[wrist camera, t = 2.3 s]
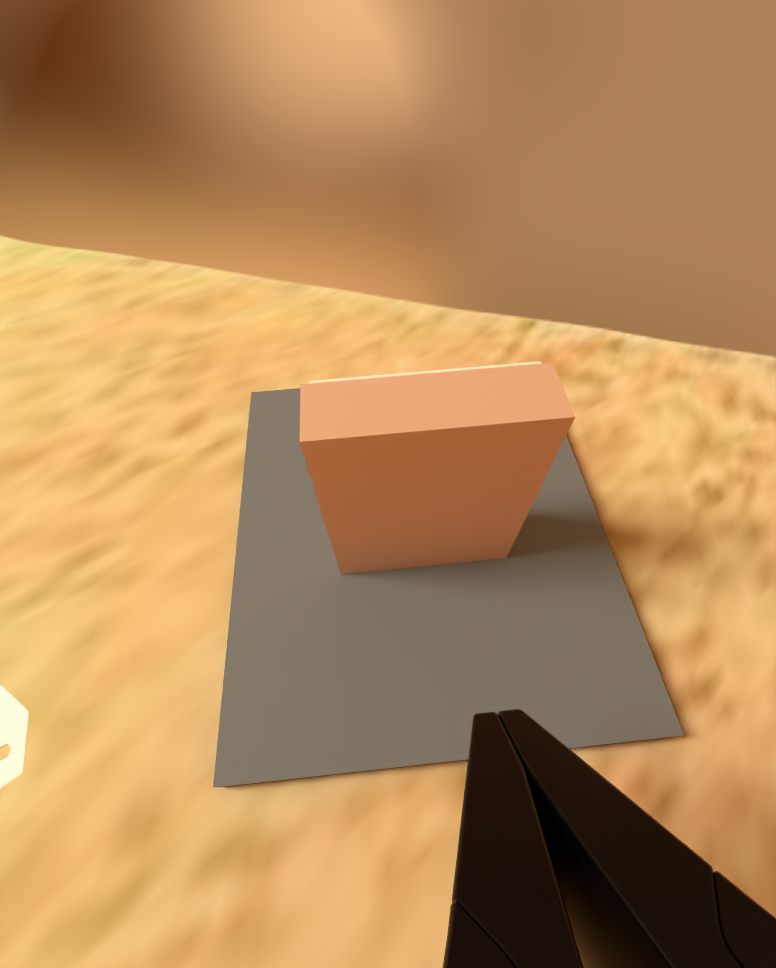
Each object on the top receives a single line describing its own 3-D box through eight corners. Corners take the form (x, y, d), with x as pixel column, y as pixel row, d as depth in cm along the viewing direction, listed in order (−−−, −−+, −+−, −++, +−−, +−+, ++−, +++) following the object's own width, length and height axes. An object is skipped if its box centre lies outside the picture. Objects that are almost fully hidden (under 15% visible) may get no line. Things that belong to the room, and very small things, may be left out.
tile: (506, 558, 19) (575, 417, 11) (340, 574, 19) (299, 441, 11) (494, 511, 20) (549, 355, 13) (338, 525, 20) (300, 376, 12)
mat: (675, 736, 16) (684, 735, 15) (219, 786, 15) (213, 787, 15) (537, 375, 26) (539, 367, 25) (254, 400, 25) (251, 392, 25)
